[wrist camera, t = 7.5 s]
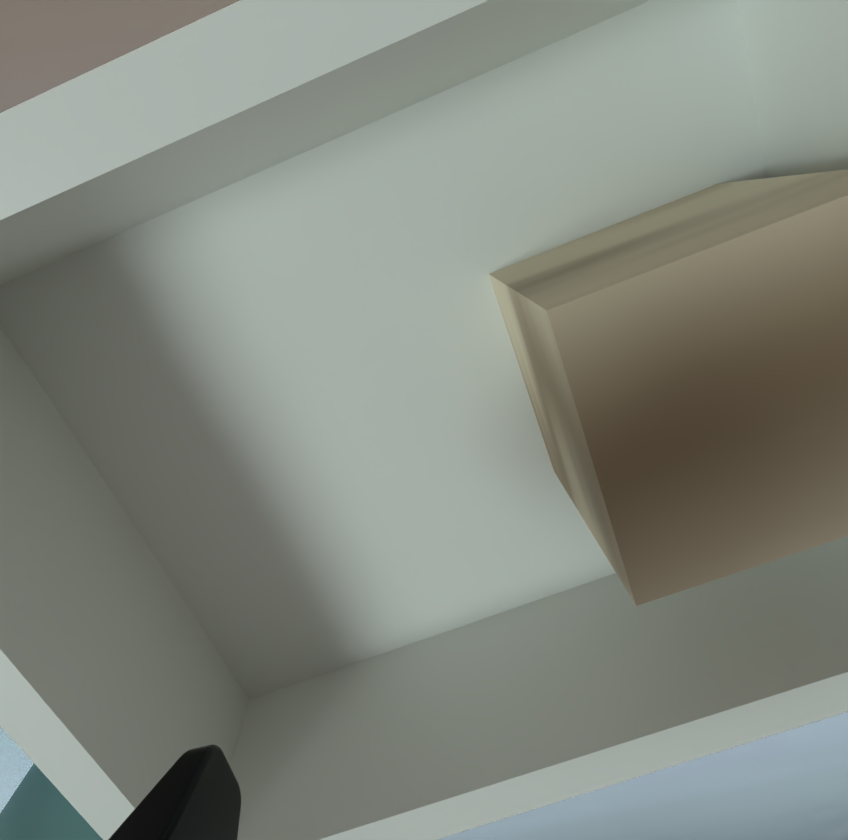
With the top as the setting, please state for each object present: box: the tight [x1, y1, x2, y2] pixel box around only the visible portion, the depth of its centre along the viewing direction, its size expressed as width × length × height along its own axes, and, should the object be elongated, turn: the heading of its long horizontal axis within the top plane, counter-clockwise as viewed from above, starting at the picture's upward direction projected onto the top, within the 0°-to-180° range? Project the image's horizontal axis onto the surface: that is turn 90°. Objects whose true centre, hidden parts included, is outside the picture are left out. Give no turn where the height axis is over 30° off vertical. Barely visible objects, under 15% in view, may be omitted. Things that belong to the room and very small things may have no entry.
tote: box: [0, 0, 848, 840], centre depth 11 cm, size 14×18×5 cm
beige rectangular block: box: [489, 169, 848, 606], centre depth 10 cm, size 5×5×5 cm
